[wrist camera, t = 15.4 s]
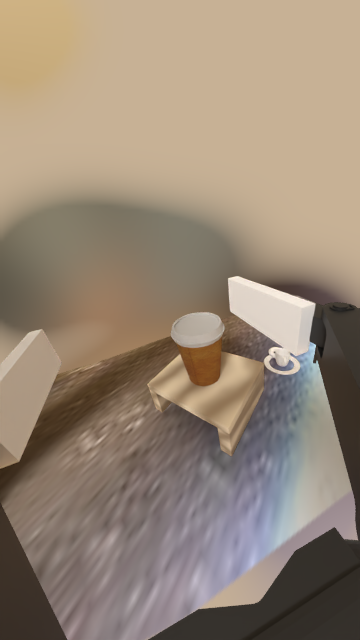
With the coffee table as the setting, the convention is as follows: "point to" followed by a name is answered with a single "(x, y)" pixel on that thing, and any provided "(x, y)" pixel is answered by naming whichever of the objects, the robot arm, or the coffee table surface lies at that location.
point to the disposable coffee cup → (200, 345)
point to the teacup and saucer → (281, 360)
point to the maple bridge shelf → (214, 395)
